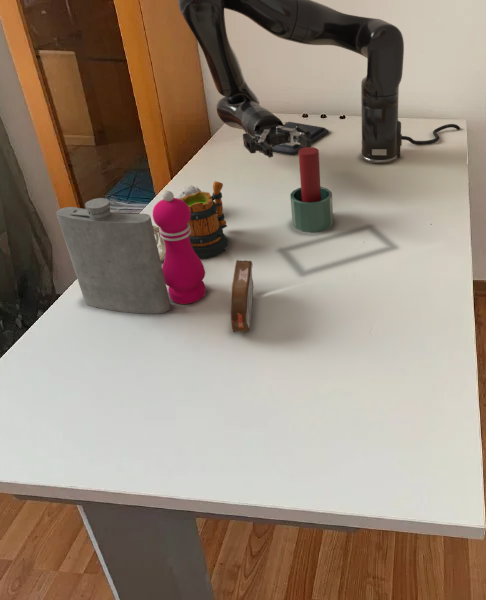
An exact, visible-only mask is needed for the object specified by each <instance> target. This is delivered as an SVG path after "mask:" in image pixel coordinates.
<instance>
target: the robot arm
mask: <svg viewBox="0 0 486 600" xmlns="http://www.w3.org/2000/svg"><path fill="white" fill-rule="evenodd" d="M177 4H178V5H177V6H178V9H179V12H180V14H181V15H182V17H183V19H184V21H185V23H186V25H187V26H188V28H189V29H190V31H191V33H192V34H193V36H194V37H195V39H196V41H197V43H198V44H199V46H200V49H201V51H202V53H203V55H204V58H205V61H206V64H207V67H208V69H209V70H208V71H209V73H210V75H211V78H212V81H213V83H214V86H215V88H216V91H217V93H218V94H220V95H221V96H223V97H221V98H220V99H219V100H218V101H217V104H216V113H217V117H219V119H220V120H221V121H222V122H223V124H225V125H227V126H228V127H230V128H234V129H238V130H243V131H244V132H245V133H243V134H242V140H243V147H244V148H246V150H247V151H248V153H249V154H256V153H257V152H259V153H260V154H263V155H264V156H265V157H268V158H273V157H274V152H273V149H272V147H274V146H276V145H278V144H279V145H283V144H286V145H292V146H293V145H295V144H298V145H301V146H302V147H303V148H305V147H312V144H311V133H310V130H308V129H307V128H305V127H303V126H302V125H300V124H301V123H300V124H296V125H295V128H293V129H291V128H288V127H285V126H284V125H283V124H284V122H283V121H282V120H281V119H280V118H279V117H278V116H276V115H275V114H274V113H273V112H271V111H270V110H269V109H267V108H266V107H262V105H261V104H260V101H259V100H260V99H259V98H258V96H257V95H256V93H255V92H254V91H253V90H252V89H251V87H250V85H248V83H247V81H246V79H245V77H244V73H243V69H242V67H241V64H240V61H239V58H238V56H237V54H236V51H235V50H234V49H233V46H231V43H230V40H229V37H228V33H227V25H226V16H225V10H229V11H232V12H235V13H237V14H241V15H242V16H244V17H246V18H247V19H249V20H251V21H252V22H254V24H256V25H257V26H259V27H260V28H262V29H263V30H265V31H266V32H268V33H270V34H271V35H273V36H274V37H277V38H279V39H282V40H286V41H289V42H294V43H298V44H303V45H308V46H334V47H339V48H342V49H346V50H348V51H351V52H354V53H356V54H358V55H360V56H362V57H364V58H366V59H367V60H366V62H367V64H366V66H367V67H366V75H365V76H364V77H363V78H362V80H361V84H360V85H361V86H360V87H361V88H360V89H361V91H360V93H361V95H360V97H361V100H360V102H361V160H362V161H364V162H365V163H366V162H367V163H369V164H375V165H385V164H390V163H393V162H395V161H396V160H397V159H401V148H402V141H408V142H410V143H411V145H420V146H421V145H430V144H435V143H437V142H439V140H440V135H439V134H438V133H439V132H441V131H442V130H445V129H449V128H453V129H456V130H457V131H461V130H462V128H461V127H460V126H459V125H458V124H455V123H447V124H444V125H441V126H438V127H437V128H435V129H434V130H433V131H432V136H434V138H432V139H429V140H415V139H413V138H412V137H411V136H406V135H403V134H402V122H401V121H400V120H399V99H400V98H399V95H400V93H399V92H400V84H401V81H402V79H403V72H404V71H403V70H404V55H405V42H404V41H405V40H404V37H403V34H402V31H401V30H400V29H399V28H398V27H397V26H396V25H394V24H392V23H390V22H387V21H386V20H383V19H380V18H373V17H365V16H361V15H360V16H358V15H354V14H348V13H344V12H341V11H339V10H336V9H334V8H331V6H330V7H329V6H327V5H325V4H322V3H320V2H317V1H314V0H177ZM296 137H297V138H298V137H299V140H296ZM289 138H291V141H288V140H289ZM255 142H256V143H255Z"/></svg>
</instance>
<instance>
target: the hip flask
mask: <svg viewBox="0 0 486 600" xmlns="http://www.w3.org/2000/svg"><path fill="white" fill-rule="evenodd" d="M84 207H85V208H80V207H75V206H66V207H62V208H60V209H58V210H57V211H56V213H55V214H56V217H57V220H58V223H59V226H60V229H61V233H62V236H63V239H64V242H65V245H66V248H67V251H68V254H69V257H70V261H71V263H72V267H73V269H74V274H75V275H76V279H77V282H78V285H79V289H80V292H81V294H82V297H83V301H84V303H85V305H87V306H90V307H94V308H99V309H103V310H107V311H108V310H109V311H115V312H121V313H122V312H123V313H132V314H165V313H167V312H168V311H170V310H171V308H172V307H171V306H172V305H171V302H170V295H169V291H168V286H167V285H166V283H165V279H164V274H163V270H162V267H163V264H162V260H161V261H160V256H159V253H160V251H159V248H158V244H157V243H156V236H155V234H154V230H153V226H154V225H153V221H152V217H151V214H148V213H127V212H126V213H125V212H124V213H123V212H112V211H111V209H110V207H111V202H110V200H109V199H108V198H103V197H98V198H93V199H90V200H88V201H86V202H85V204H84ZM152 225H153V226H152Z"/></svg>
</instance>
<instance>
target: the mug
mask: <svg viewBox="0 0 486 600" xmlns="http://www.w3.org/2000/svg"><path fill="white" fill-rule="evenodd" d="M223 187H224V184H223V182H220V181H215V180H214V182H213V184H212V195H211V193H210V192H206V191H202V190H201V191H199V192H197V193H195V194H191V195H188V196H185V197H183V198H180V199H181V200H183V201H184V202H185V203H186V204H187V205H188V207H189V209H190V212H191V218H190V221H189V222H188V224H189V225H190V230H191V234H190V235H189V240H190V243H191V246H192V248H193V250H194V252H195V253H196V254H197V256H198V257H199V258H200V260H206V259H212V258H214V257H217V256H219V255H221V254H223V253H225V251H226V248H227V247H228V243H229V240H228V238H227V237H226V235H225V233H224V230H223V229H225V228H228V225H227V221H226V219H225V218H226V217H225V214H224V213H223V210H224V208H223V200H222V198H223V193H222V192H221V191H222V188H223Z"/></svg>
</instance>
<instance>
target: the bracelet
mask: <svg viewBox="0 0 486 600" xmlns="http://www.w3.org/2000/svg"><path fill="white" fill-rule="evenodd" d="M152 226H153V230H154V234H155V239H156V243H157V248H158V250H161V251H159V256H160V261H161V262H162V261H164V259H165V254H166V248H165V242H164V239H162V238H161V237H160V232H159V228H160V227H159V226H157V225H153V224H152ZM159 243H160V244H159Z"/></svg>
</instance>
